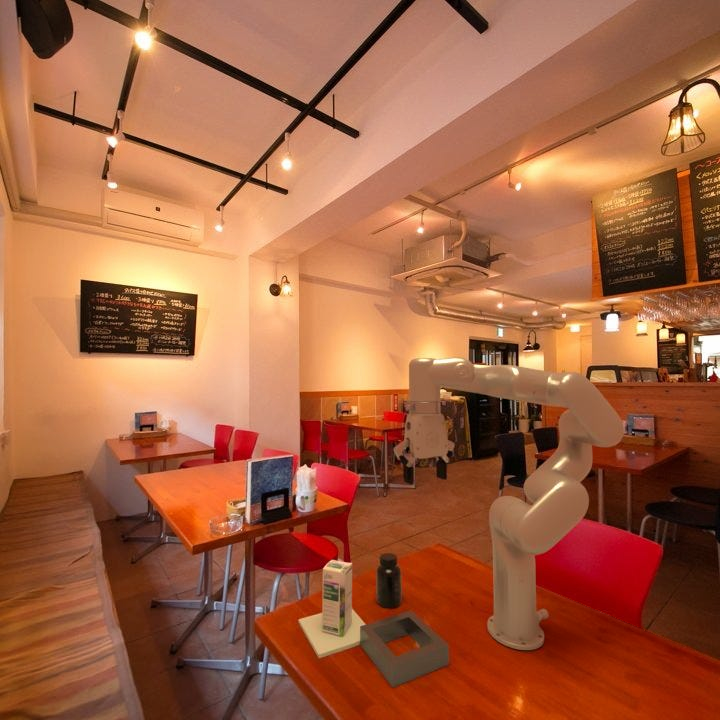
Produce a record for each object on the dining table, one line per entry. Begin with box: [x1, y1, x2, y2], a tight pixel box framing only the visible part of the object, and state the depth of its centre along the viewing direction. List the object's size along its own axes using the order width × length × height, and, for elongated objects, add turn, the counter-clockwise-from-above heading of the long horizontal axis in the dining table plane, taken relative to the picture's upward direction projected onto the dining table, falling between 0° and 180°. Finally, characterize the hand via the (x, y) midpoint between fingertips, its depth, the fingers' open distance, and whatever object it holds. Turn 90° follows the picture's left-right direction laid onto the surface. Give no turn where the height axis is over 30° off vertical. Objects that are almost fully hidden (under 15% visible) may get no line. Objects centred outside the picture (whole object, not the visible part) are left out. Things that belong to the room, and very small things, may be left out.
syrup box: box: [321, 559, 353, 637], centre depth 93 cm, size 6×6×14 cm
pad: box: [298, 608, 367, 659], centre depth 92 cm, size 14×14×1 cm
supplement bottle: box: [375, 552, 403, 609], centre depth 105 cm, size 7×7×12 cm
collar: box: [359, 610, 450, 688], centre depth 85 cm, size 14×14×4 cm
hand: (425, 480), depth 92 cm, fingers open, 9 cm apart
